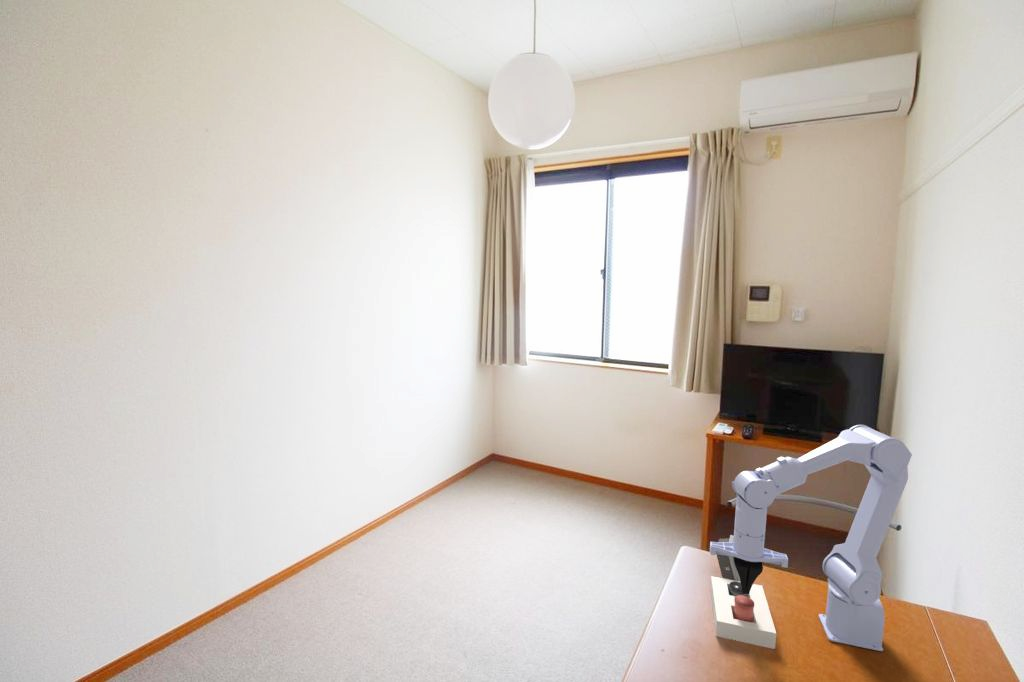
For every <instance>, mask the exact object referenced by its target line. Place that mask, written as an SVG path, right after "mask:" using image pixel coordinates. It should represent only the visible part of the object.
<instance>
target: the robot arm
mask: <svg viewBox="0 0 1024 682" xmlns="http://www.w3.org/2000/svg"><path fill="white" fill-rule="evenodd" d="M912 456H913V454H912V453H911V451H910V450H909V448H908V447H907V446H906V445H905V443H904V442H903V441H902V440H900V439H898V438H896V437H892V436H889V435H888V434H885V433H883V432H880V431H877V430H875V429H874V428H872V427H870V426H868V425H865V424H856V425H853V426H852V427H849V429H848V428H847V429H844V430H842V431H840V433H839V435H838V436H837V437H836V438H833V439H832V440H830V441H828V442H827V443H825V444H822V445H821V446H819V447H817V448H815V449H813V450H811V451H809V452H808V453H805V454H804V455H802V456H800V457H798V458H796V457H795V458H794V457H791V456H785V457H784V456H779V457H777V458H776V461H774V462H772V463H770V464H766V465H765V466H763V467H758V468H756V469H755V470H754V471H753V470H743V471H741V472H739V474H737V475H736V476H735V478H734V480H733V481H731V486H732V489H733V492H735V493H736V503H735V513H734V514H735V515H734V525H733V526H734V529H733V535H734V540H733V542H719V541H717V542H716V541H710V542H709V554H710V555H712V556H717V554H720V555H725V556H731V557H733V559H734V564H735V567H736V569H737V571H738V574H739V577H740V583H741V591H742V593H744V594H749V593H750V590H751V587H752V585H753V584H755V583H754V582H755V581H756V579H758V577H759V576H760V575H761V574H762V573H763V570H764V566H763V563H767V564H770V565H771V564H772V565H778V566H780V567H782V568H785V569H787V568H788V567H789V558H788V557H789V556H788V555H787V554H786V553H781V552H778V551H774V550H772V549H768V548H765V541H766V540H765V539H766V526H767V516H768V515H767V514H768V508H769V507H771V505H772V504H773V502H774V501H775V499H776V498H777V497H779V495H780V494H783V493H784V492H787V491H790V490H791V489H794V488H797V487H798V486H801V485H803V484H805V483H806V482H807V478H808V475H811V474H814V473H816V472H818V471H821V470H824V469H827V468H830V467H832V466H835V465H838V464H841V463H843V462H846V461H847V462H852V463H856V464H861V465H864V466H865V468H866V470H867V471H868V472H869V474H870V478H869V480H868V483H867V486H866V489H865V491H864V492H863V493H864V494H863V496H862V499H861V501H860V503H859V506H858V509H857V512H856V514H855V516H854V519H853V522H852V524H851V527H850V530H849V532H848V534H847V536H846V539H845V542H843V543H840V544H839V543H838V544H835V545H833V548H832V550H831V551H830V553H829V554H828V555H827V556H826V557H825V558H824V559H823V561H822V571H823V573H824V574H825V575H826V576H827V583H828V586H827V587H828V588H827V599H826V607H825V608H826V609H825V614H823V613H819V614H818V619H819V621H820V623H821V626H822V627H823V630H824V632H825V634H826V637H827V639H828V640H829V641H830V642H835V643H840V644H845V645H850V646H853V647H859V648H864V649H868V650H874V651H878V652H883V651H884V648H883V640H884V638H883V637H884V630H885V629H884V628H885V620H886V619H885V609H884V606H883V604H882V601H881V599H880V597H881V594H882V585H881V583H882V579H883V578H884V577H883V575H884V573H883V572H882V570H881V567H880V565H879V562H878V559H877V557H878V555H879V551H880V549H881V547H882V545H883V542H884V539H885V537H886V535H887V531H889V527H890V524H891V522H892V520H893V517H894V515H895V512H896V509H897V508H898V505H899V503H900V500H901V499H902V498H901V497H902V494H903V492H904V490H905V487H906V485H907V482H908V479H909V471H908V470H909V469H908V465H909V463H910V461H911V458H912Z"/></svg>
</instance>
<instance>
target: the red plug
mask: <svg viewBox="0 0 1024 682" xmlns="http://www.w3.org/2000/svg"><path fill="white" fill-rule="evenodd" d="M734 602H735V606H734V618H735V619H737V620H742V621H747V622H751V623H752V622H753V609H754V601H753V600H752V599H750V598H749V597H746V596H743V595H738V596H736V597H735V599H734Z"/></svg>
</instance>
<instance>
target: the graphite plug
mask: <svg viewBox="0 0 1024 682" xmlns="http://www.w3.org/2000/svg"><path fill="white" fill-rule="evenodd" d="M729 595H731V596H738V595H743V596H746V597H747V594H744V593H742V591H741V583H740V582H731V583H730V594H729Z"/></svg>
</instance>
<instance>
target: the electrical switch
mask: <svg viewBox="0 0 1024 682" xmlns="http://www.w3.org/2000/svg"><path fill="white" fill-rule="evenodd" d="M733 540H734V534H730V535H729V538H727V537H726V538H719V539H718V542H733ZM716 559H717V562H718V565H719V570H720V575H721V578H724V579H729V580H735V581H740V577H739V574H738V571H737V569H736V567H735V564H734V559H733V557H731V556H725V555H720V554H716ZM726 568H727V570H726Z"/></svg>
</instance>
